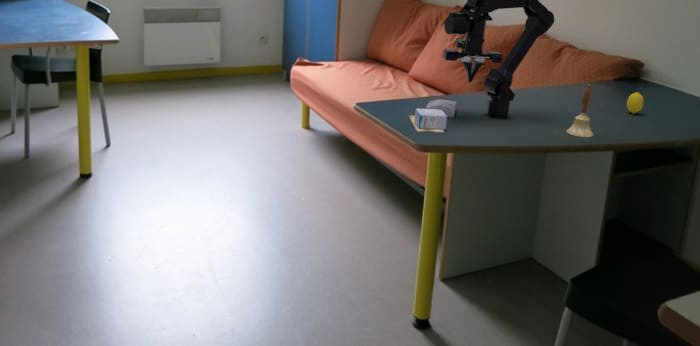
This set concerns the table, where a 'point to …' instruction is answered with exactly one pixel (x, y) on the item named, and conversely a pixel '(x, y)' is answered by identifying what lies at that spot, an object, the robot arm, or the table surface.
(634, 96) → the lemon
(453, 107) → the stone block
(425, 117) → the medicine box
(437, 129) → the cork pad
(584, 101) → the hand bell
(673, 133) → the table surface
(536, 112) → the table surface
